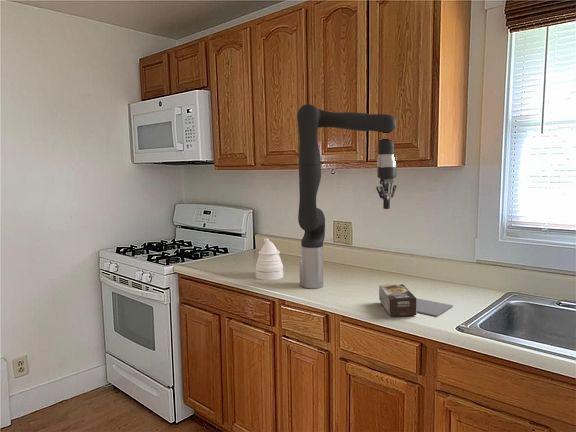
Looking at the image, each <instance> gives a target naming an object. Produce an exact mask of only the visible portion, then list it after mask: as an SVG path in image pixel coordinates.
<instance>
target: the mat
mask: <svg viewBox="0 0 576 432" xmlns="http://www.w3.org/2000/svg"><path fill="white" fill-rule="evenodd" d="M453 307H454V305H453V304H448V303H445V302H440V301H439V302H437V301H434V300H427V299H424V298H423V299H422V298H418V297H416V314H417V313H418V314H421V315H426V316H432V317H434V318H435V317H436V318H438V317H440V316H441V315H443V314H444V313H446V312H447V311H448V310H450V309H452V308H453Z"/></svg>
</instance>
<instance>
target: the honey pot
mask: <svg viewBox="0 0 576 432" xmlns="http://www.w3.org/2000/svg"><path fill="white" fill-rule="evenodd" d="M263 242H264V243H263V245H262V247H261V250H259V251H258V257H257V260H256V264H255V278H256V279H258V280H261V281H274V280H280V279H282V278H283V277H284V265H283V262H282V259H281V256H280V253H281V252H280V250H279V249H278V248H277V247H276V245H275V244H274V243H273V242H272V241H271V240H270V238H267V237H266V238H265V237H264V238H263Z"/></svg>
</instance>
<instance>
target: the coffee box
mask: <svg viewBox="0 0 576 432" xmlns="http://www.w3.org/2000/svg"><path fill="white" fill-rule="evenodd" d="M378 297H379V298H378V300H379V301H380V304H381V305H382V306H383V307H384V309H385V310H386V312H387V313H388V315H389V317H390V318H391V317H392V318H393V317H409V316H417V312H416V298H417V297H416V296H415V295H414V294H413V293H412V292H411V291H410V290H409V289H408V288H407V286H406V285H404V283H392V284H391V283H390V284H389V283H387V284H379V285H378Z"/></svg>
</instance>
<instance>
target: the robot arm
mask: <svg viewBox="0 0 576 432" xmlns="http://www.w3.org/2000/svg"><path fill="white" fill-rule="evenodd" d="M296 119H297V120H296V121H297V127H298V135H299V144H298V146H299V147H298V182H299V184H298V185H299V186H298V188H299V191H298V192H299V202H298V203H299V204H298V212H297V213H298V215H297V221H298V225H299V226H300V228H301V230H303V231H304V234H303V237H302V239H301V241H300V243H301V246H300V247H301V249H300V250H301V251H300V252H301V259H300V260H301V263H299V286H302V288H304V289H305V288H306V289H320V288H322V287H324V240H325V236H326V235H325V233H326V218H325V217H326V216H325V213H324V212H323V211H322V210H321V208H319V207H317V196H318V191H319V187H320V183H321V180H322V179H321V178H322V162H321V161H322V160H321V152H320V147H319V140H318V135H319V134H318V133H319V129H320V128H321V129H322V128H335V129H343V130H349V131H350V130H351V131H360V132H383V133H390V132H392V131H393V130H394V129H395V127H396V128H397V126H396V121H397V118H395V116H393V115H391V114H384V113H382V114H381V113H380V114H378V113H374V114H371V113H367V112H366V113H365V112H350V111H349V112H348V111H347V112H346V111H345V112H338V111H337V112H336V111H335V112H334V111H328V110H327V111H326V110H323V109H319V108H317V107H316V106H315V105H313V104H311V103H310V104H309V103H307V104H306V103H305V104H303V105H302V106H301V107H300V108H299V110H298V111H297V114H296ZM377 145H378V147H377V162H376V163H377V167H376V169H377V175H376V177H377V178H378V179H379V185H378V186H376V187H375V188H376V191H377V194H378V196H379V198H380V199H382V202H383V205H382V206H383V207H382V208H383V210H389V209H391V200H392V198H393V199H394V196H395V192H396V190H397V187H398V186H397V184H395V183H394V182H395V181H394V179H395V178H396V177H397V166H396V161H395V157H394V144H393V141H392V140H389V139H382V140H379V139H378V144H377Z"/></svg>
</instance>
